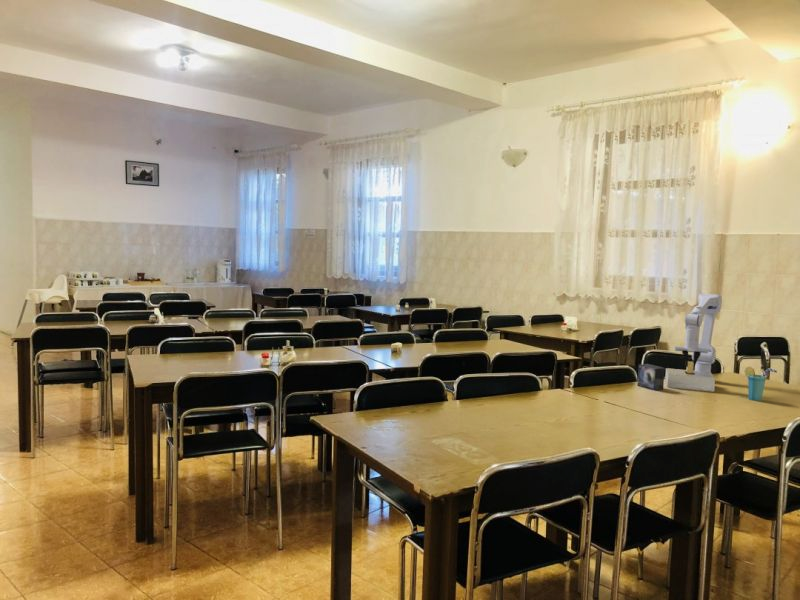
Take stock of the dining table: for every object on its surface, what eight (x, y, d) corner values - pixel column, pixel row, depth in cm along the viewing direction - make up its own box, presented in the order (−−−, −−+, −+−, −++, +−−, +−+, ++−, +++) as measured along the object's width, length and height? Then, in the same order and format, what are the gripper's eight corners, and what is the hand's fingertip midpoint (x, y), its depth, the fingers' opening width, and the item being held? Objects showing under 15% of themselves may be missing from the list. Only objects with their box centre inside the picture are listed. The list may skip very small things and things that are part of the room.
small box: (636, 385, 295) (637, 364, 295) (646, 385, 298) (647, 363, 297) (653, 390, 286) (655, 368, 285) (663, 389, 289) (665, 367, 288)
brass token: (686, 371, 302) (686, 361, 301) (691, 371, 301) (692, 361, 300) (687, 373, 297) (687, 362, 297) (692, 373, 296) (693, 363, 296)
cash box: (665, 381, 309) (665, 368, 309) (709, 385, 303) (710, 372, 302) (667, 387, 294) (668, 373, 294) (714, 391, 288) (715, 378, 287)
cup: (778, 402, 270) (781, 368, 269) (769, 404, 266) (772, 370, 265) (745, 395, 282) (748, 363, 281) (736, 397, 277) (739, 364, 276)
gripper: (676, 338, 295) (674, 366, 296) (710, 341, 290) (707, 369, 291) (675, 336, 302) (673, 364, 303) (708, 339, 297) (705, 367, 298)
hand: (690, 366), depth 298 cm, fingers closed on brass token, 2 cm apart
